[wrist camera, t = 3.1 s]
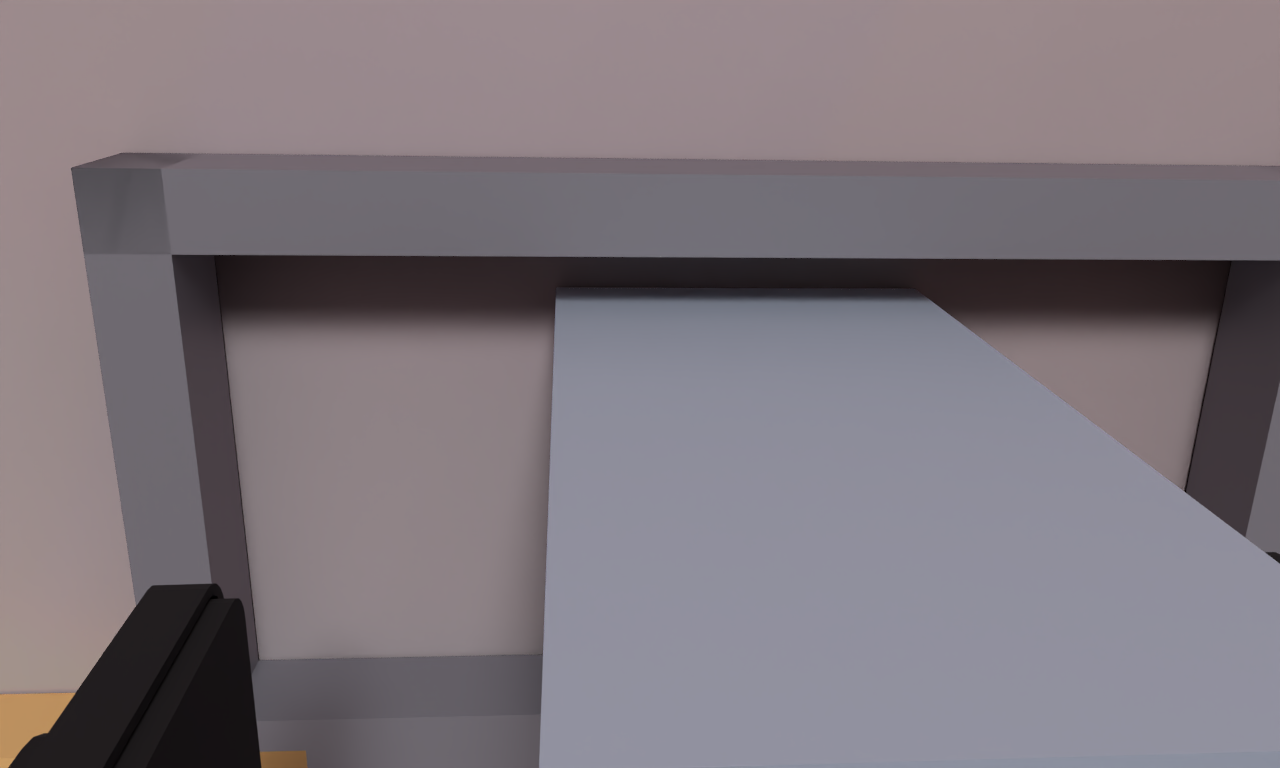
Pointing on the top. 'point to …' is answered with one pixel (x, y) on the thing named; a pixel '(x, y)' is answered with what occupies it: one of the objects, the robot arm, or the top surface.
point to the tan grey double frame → (577, 227)
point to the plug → (872, 553)
